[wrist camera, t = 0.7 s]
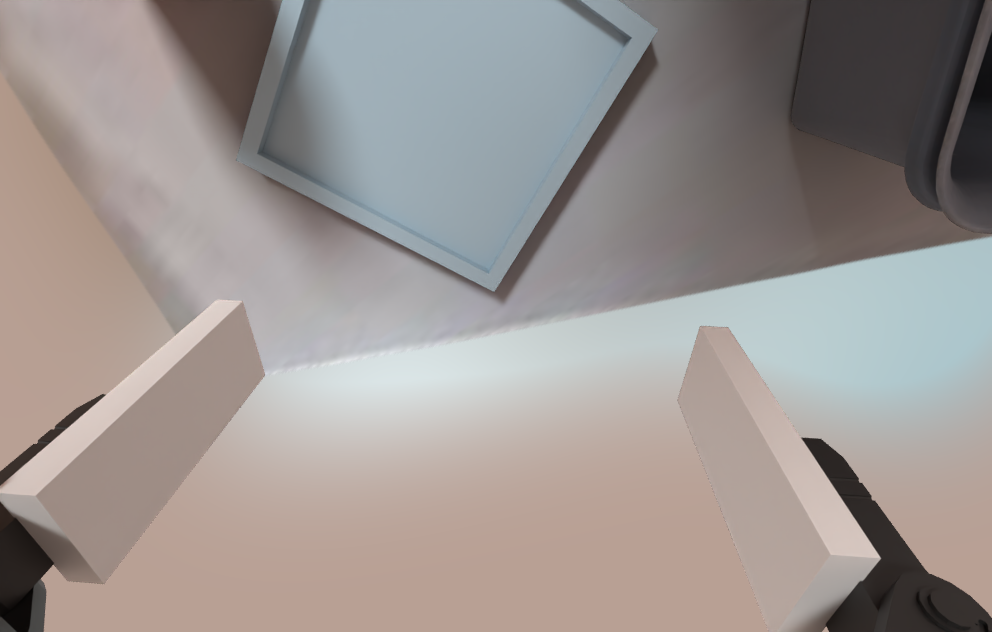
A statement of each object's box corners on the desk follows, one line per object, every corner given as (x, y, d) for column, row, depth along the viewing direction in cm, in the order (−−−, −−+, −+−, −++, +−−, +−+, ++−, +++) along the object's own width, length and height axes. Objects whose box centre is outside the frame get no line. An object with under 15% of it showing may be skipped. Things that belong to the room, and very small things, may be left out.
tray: (352, -186, 22) (341, -205, 21) (648, 31, 27) (658, 29, 25) (249, 155, 30) (235, 160, 28) (494, 281, 34) (494, 292, 32)
